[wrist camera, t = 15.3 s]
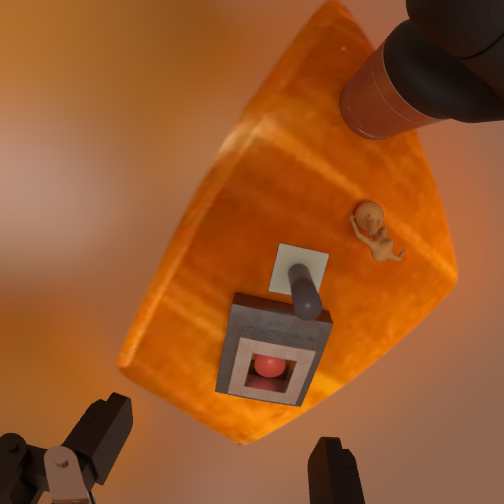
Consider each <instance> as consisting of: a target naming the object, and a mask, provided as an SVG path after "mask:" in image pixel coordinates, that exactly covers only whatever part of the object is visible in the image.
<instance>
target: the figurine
mask: <svg viewBox="0 0 504 504" xmlns="http://www.w3.org/2000/svg"><path fill="white" fill-rule="evenodd" d="M348 217H349V216H348ZM354 218H355V220H356V223H357V225H358V226H359V227H360V228H361V229H362V230H364V231H368V233H367V234H368V236H369V237H370V238H372V239H373V241H372V240H370V239H369V238H367V237H365V236H364V235H362V234H360V232H359V230H358V228H357V225H356V223H355V222H354V220H353V219H354ZM349 220H350V221H351V223H352V227H353V229H354V232H355V235H356V236H357V237H358V238H359V239H360V240H361V241H363V242H364V243H366V244H367V245H368V246H369V247H370V248H371V254H372V256H373V258H374V259H375V260H376V261H379V262H382V261H385V260H386V259H393V260H395V261H401V259H402V256H403V255H404V252H405V248H404V245H403V251H401V253H400V254H399V256H397V255H395V254H393V252H392V248H393V245H394V242H393V241H392V239H391V238H389V239H387V231H388V228H387V227H382V228H380V227H381V225H382V224H383V221H384V213H383V210H382V208H381V207H380V206H379V205H378V204H376V203H374V202H364V203H362V204H361V205H359V207H358V208H357V210H356V212H355V216H354V217H353V214H352V216H351V214H350V217H349ZM379 228H380V229H379ZM376 233H377V234H376Z"/></svg>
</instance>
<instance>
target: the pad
mask: <svg viewBox="0 0 504 504" xmlns="http://www.w3.org/2000/svg"><path fill="white" fill-rule="evenodd" d="M328 256H329V254H328V253H324V252H320V251H315V250H311V249H306V248H302V247H297V246H293V245H288V244H284V243H279V248H278V252H277V256H276V260H275V265H274V269H273V273H272V277H271V281H270V286H269V290H268V291H272V292H277V293H282V294H287V295H291V289H290V284H289V278H288V271H289V269H290V267H291V266H293V265H294V264H303V265H305V266H306V267H307V268H308V269H309V272H310V274H311V277H312V279H313V282H314V284H315V287H316V289H317V292H318V291H319V288H320V285H321V281H322V278H323V274H324V271H325V267H326V264H327V260H328Z"/></svg>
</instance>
